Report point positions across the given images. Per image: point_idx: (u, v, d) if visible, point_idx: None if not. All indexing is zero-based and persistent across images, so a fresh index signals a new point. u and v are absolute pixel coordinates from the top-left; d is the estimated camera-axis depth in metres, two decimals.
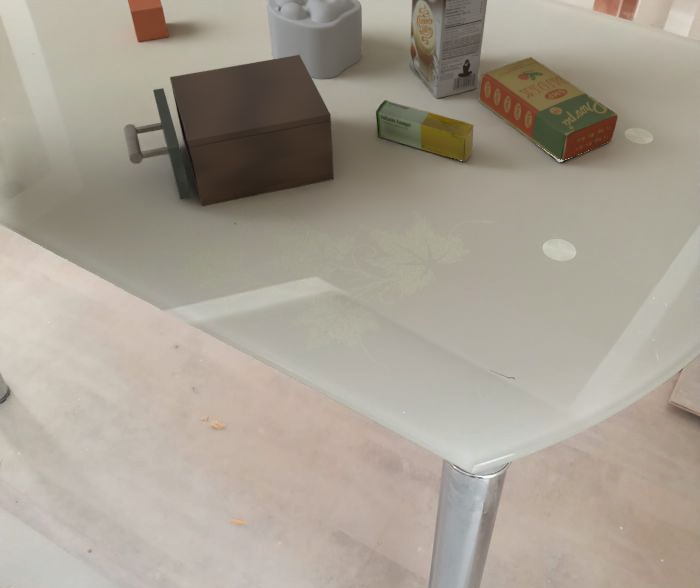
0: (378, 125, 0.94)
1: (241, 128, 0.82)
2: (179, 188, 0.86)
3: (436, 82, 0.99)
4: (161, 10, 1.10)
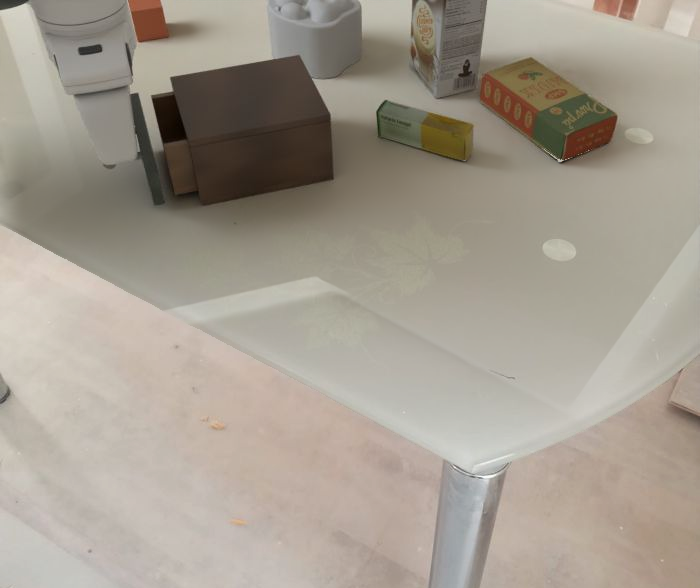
0: (378, 125, 0.94)
1: (241, 128, 0.82)
2: (153, 193, 0.85)
3: (436, 82, 0.99)
4: (161, 10, 1.10)
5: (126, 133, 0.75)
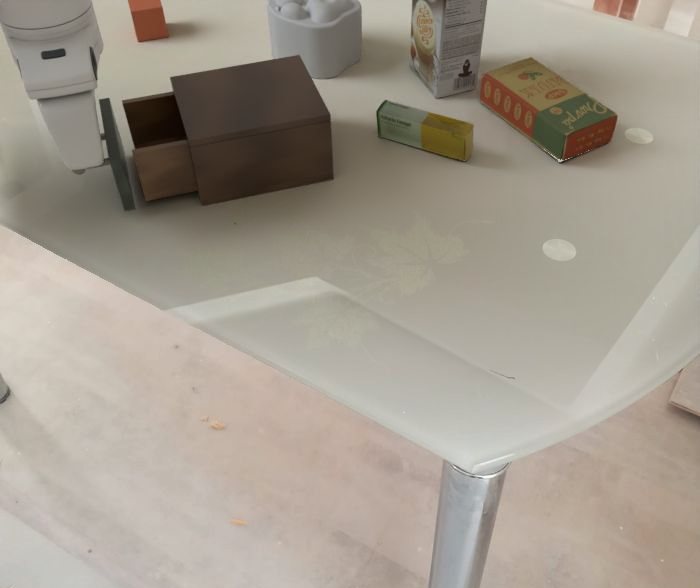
0: (378, 125, 0.94)
1: (241, 128, 0.82)
2: (122, 199, 0.85)
3: (436, 82, 0.99)
4: (161, 10, 1.10)
5: (91, 138, 0.74)
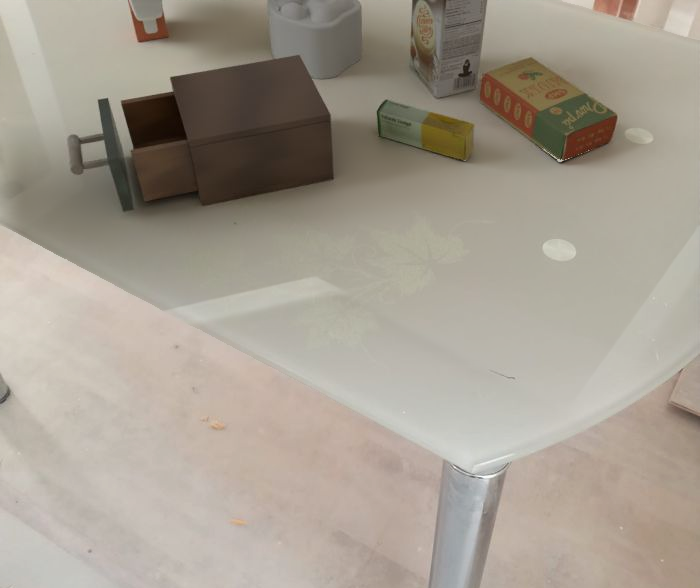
0: (379, 124, 0.94)
1: (241, 128, 0.82)
2: (121, 199, 0.85)
3: (436, 82, 0.99)
4: None
5: None
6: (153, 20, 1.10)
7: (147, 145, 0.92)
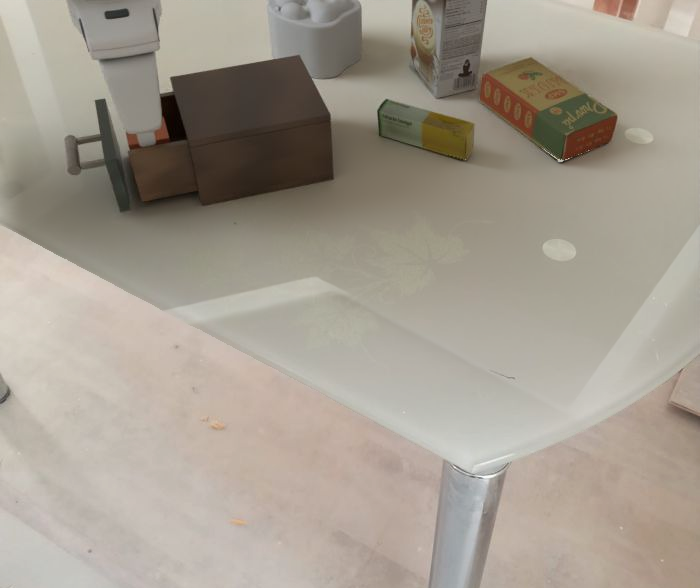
0: (379, 124, 0.94)
1: (241, 128, 0.82)
2: (118, 200, 0.85)
3: (436, 82, 0.99)
4: (168, 141, 0.86)
5: (152, 100, 0.73)
6: None
7: None
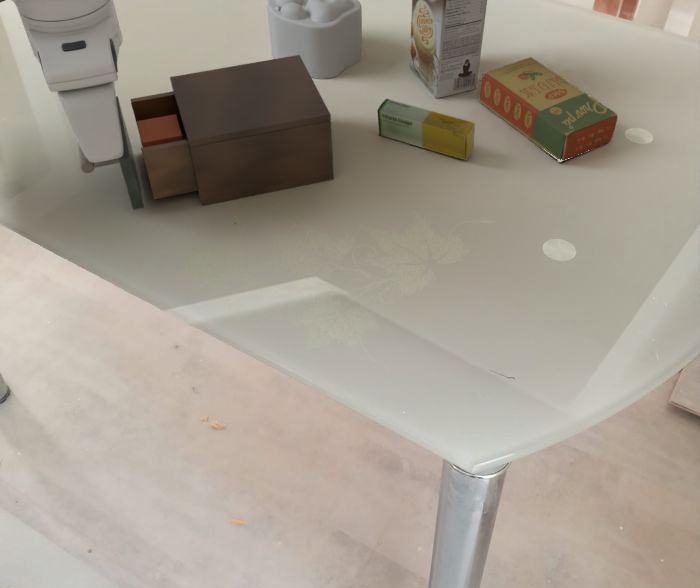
0: (379, 124, 0.94)
1: (241, 128, 0.82)
2: (131, 197, 0.85)
3: (436, 82, 0.99)
4: (180, 139, 0.86)
5: (111, 130, 0.74)
6: None
7: None
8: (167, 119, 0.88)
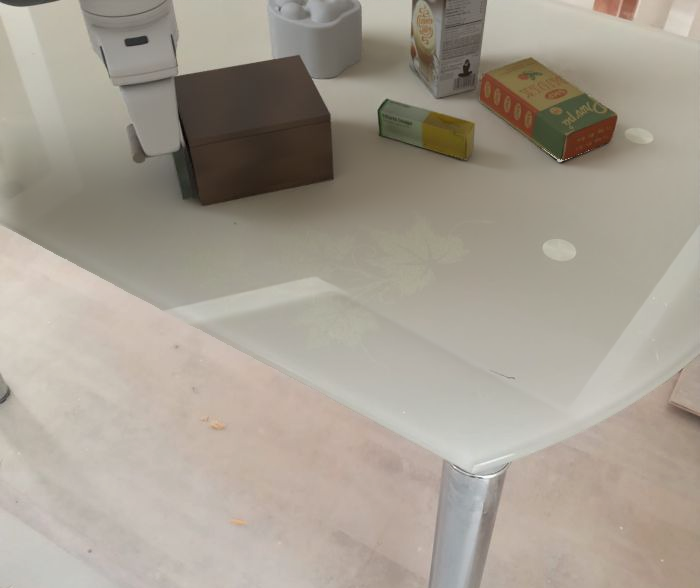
0: (380, 123, 0.94)
1: (241, 128, 0.82)
2: (182, 187, 0.86)
3: (436, 82, 0.99)
4: None
5: (171, 123, 0.76)
6: None
7: None
8: None
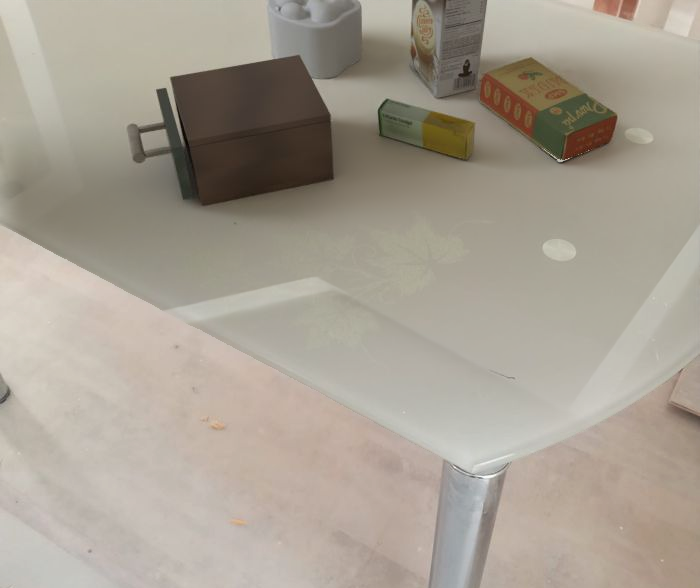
0: (380, 123, 0.94)
1: (241, 128, 0.82)
2: (182, 187, 0.86)
3: (436, 82, 0.99)
4: None
5: None
6: None
7: None
8: None
